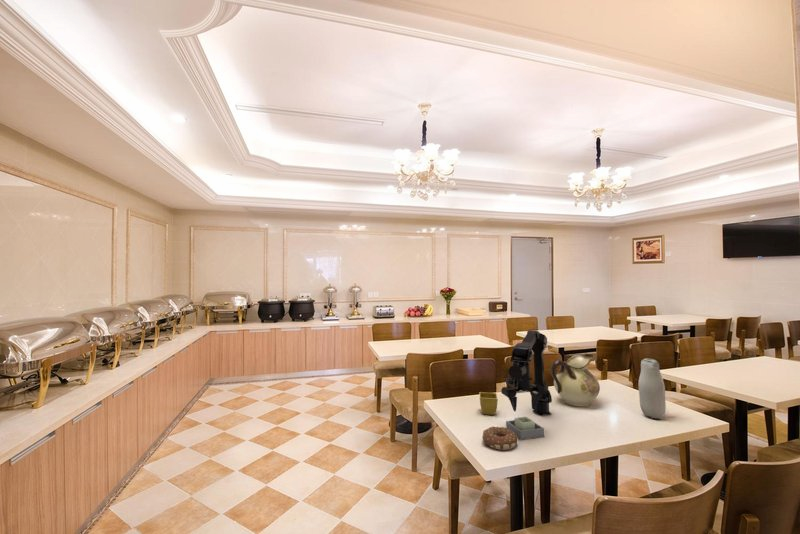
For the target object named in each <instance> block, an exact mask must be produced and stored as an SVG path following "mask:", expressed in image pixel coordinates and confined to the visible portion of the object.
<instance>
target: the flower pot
mask: <svg viewBox="0 0 800 534" xmlns="http://www.w3.org/2000/svg"><path fill="white" fill-rule="evenodd" d="M478 393H479V403H480V404H479V405H480V410H481V412H482V414H483V415H490V416H495V414H496V412H497V409H498V400H499V399H498V394H497V393H496V392H483V391H480V392H478Z"/></svg>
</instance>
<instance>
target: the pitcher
mask: <svg viewBox="0 0 800 534" xmlns="http://www.w3.org/2000/svg"><path fill="white" fill-rule="evenodd" d="M593 359H594V357H593V356H587V355H584V354H581V353H577V354H573V355H571V356H570V357H569V358H568V359H567V360H566V361H563V360H561V359H556V360H555V361H554V362H553V363H552V364H551V366H550V372H551V377H552V378H553V387H554V388H555V391H556V393H557V394H558V396H560V397H561V398H562V399H563V400H564V403H566V404H567V405H569V406H574V407H583V408H585V407H586V408H587V407H589V406H590V405H591V403H592V402H593V401H594V400H595V399H596V398H597V397H598V396H599V394H600V390H601V388H600V386H601V385H600V383H599V381H598V378H597V377H595V375H594V374H593V373H592V372H591V371H590V369H588V366H589V364H590V363H591V362H592V361H593ZM558 367H559V369H558V371H557V368H558ZM556 371H557V373H556Z"/></svg>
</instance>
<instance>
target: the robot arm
mask: <svg viewBox="0 0 800 534" xmlns="http://www.w3.org/2000/svg"><path fill="white" fill-rule="evenodd" d="M547 344H548V338H547V335H545V334H543V333H541V332H540V331H539V330H533V329H528V330H527V331H526V335H525V336H524V337H523V339H522V341H521V342H518V343H516V344H515V345H514V347H512V352H511V355H510V356H511V357H510V362H512V365H511V366H510V367H509V369H508V375H509V376H507V377H505V384H506V385H507V386H502V387H501V389H500V390H501V394H502V395H503V396H505V397H506V398H508V400H509V402H510V405H511V407H512V409H513V412H516V411H517V403H518V397H517V394H520V393H521V394H522V393H530V396H531V409H532V412H533V413H535V414H537V415H538V416H548V415H549V416H550V415H552V412H550V404H551V403H553V398H552V394H551V392H550V390H549V385H548V384H547V382H546V380H545V361H544V360H545V359H544V351H545V349H546V348H547ZM532 358H533V368H534V382H533V383H532V384H531V381H532V379H533V378H532V377H531V373H530V372H531V371H530V370H531V369H530V362H532ZM508 385H509V386H508Z"/></svg>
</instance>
